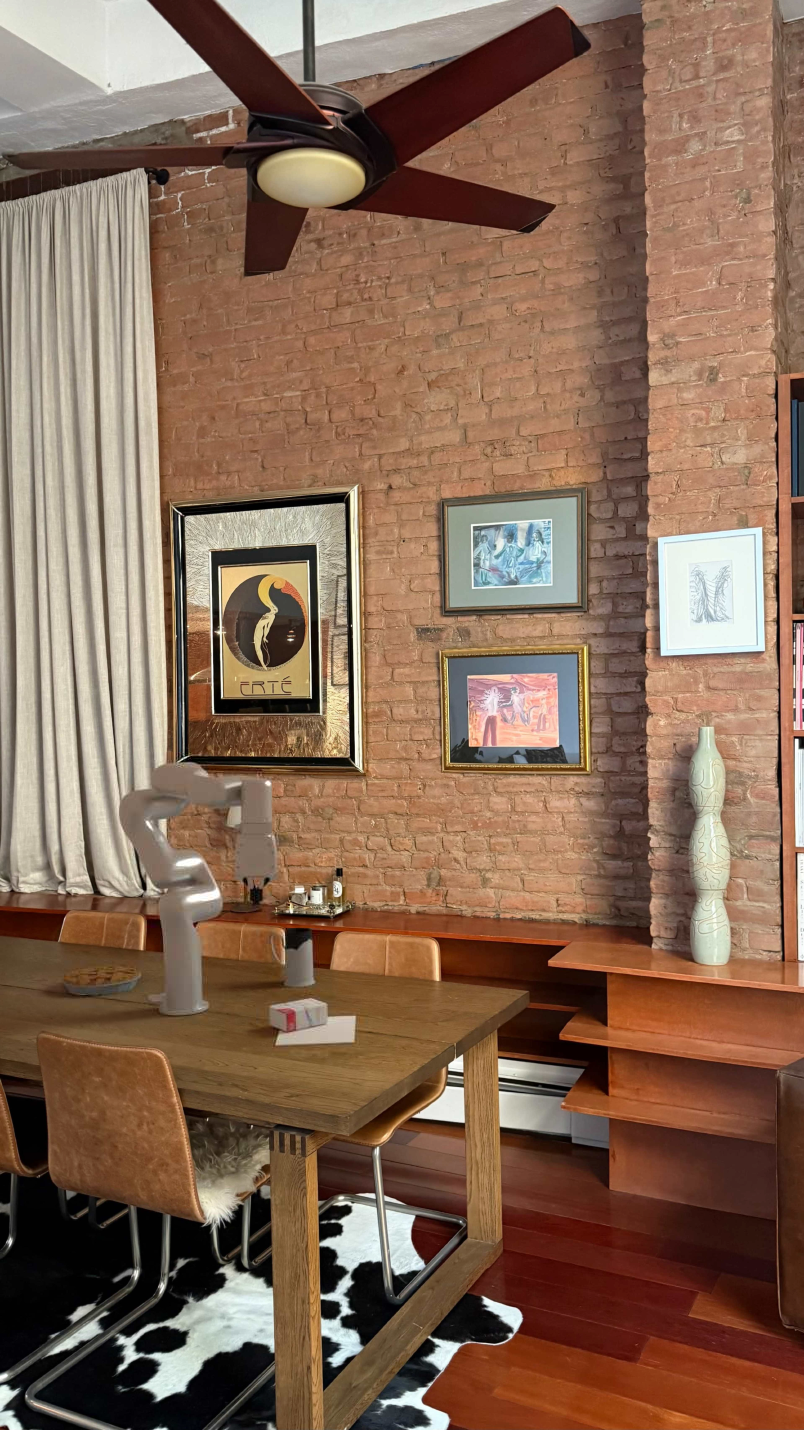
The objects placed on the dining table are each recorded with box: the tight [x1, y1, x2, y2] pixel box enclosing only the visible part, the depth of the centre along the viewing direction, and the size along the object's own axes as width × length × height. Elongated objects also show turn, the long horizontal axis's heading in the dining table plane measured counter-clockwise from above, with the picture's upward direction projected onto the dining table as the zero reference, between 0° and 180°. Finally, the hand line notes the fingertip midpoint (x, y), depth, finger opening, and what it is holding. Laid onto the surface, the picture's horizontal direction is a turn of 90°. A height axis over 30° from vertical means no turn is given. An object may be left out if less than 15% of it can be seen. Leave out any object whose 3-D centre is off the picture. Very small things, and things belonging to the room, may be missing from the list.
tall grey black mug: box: [270, 927, 316, 988], centre depth 311 cm, size 9×14×15 cm, turn 58°
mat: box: [275, 1015, 357, 1047], centre depth 261 cm, size 18×22×1 cm
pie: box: [61, 964, 142, 996], centre depth 311 cm, size 22×22×5 cm
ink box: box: [268, 997, 328, 1033], centre depth 265 cm, size 9×5×12 cm
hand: (256, 904), depth 266 cm, fingers closed
